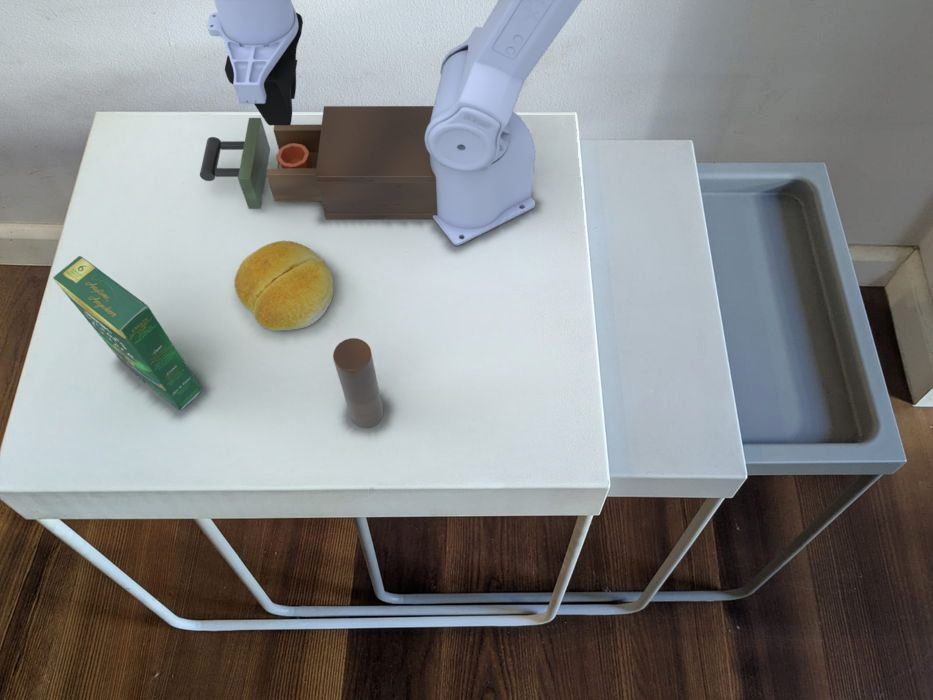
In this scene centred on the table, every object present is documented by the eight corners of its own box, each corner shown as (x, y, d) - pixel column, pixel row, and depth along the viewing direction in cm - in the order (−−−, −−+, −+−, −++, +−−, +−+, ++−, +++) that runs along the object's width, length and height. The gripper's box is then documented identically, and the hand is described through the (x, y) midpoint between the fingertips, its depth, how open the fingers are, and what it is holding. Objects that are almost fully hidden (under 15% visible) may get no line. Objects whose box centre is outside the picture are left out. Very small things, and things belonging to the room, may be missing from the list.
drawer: (205, 209, 75) (192, 178, 71) (217, 149, 79) (205, 117, 75) (356, 208, 75) (351, 178, 72) (361, 149, 79) (356, 117, 75)
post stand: (373, 392, 66) (359, 331, 57) (389, 417, 65) (378, 359, 56) (344, 408, 66) (326, 349, 57) (360, 434, 64) (344, 377, 56)
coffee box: (117, 362, 68) (47, 275, 56) (142, 339, 69) (79, 250, 57) (179, 413, 65) (119, 334, 54) (204, 390, 66) (151, 306, 55)
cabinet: (325, 219, 76) (315, 176, 70) (332, 151, 80) (323, 105, 75) (443, 219, 76) (442, 176, 71) (444, 150, 80) (443, 105, 75)
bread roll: (280, 350, 68) (270, 327, 65) (226, 287, 72) (214, 261, 68) (355, 300, 71) (349, 275, 68) (299, 241, 74) (291, 214, 71)
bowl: (303, 155, 77) (299, 138, 75) (317, 173, 76) (313, 158, 74) (276, 167, 76) (271, 151, 75) (290, 186, 75) (285, 170, 73)
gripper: (206, -88, 61) (247, 54, 73) (173, 34, 54) (225, 170, 66) (295, -88, 61) (322, 54, 73) (274, 34, 54) (308, 169, 66)
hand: (281, 109), depth 69 cm, fingers open, 3 cm apart
